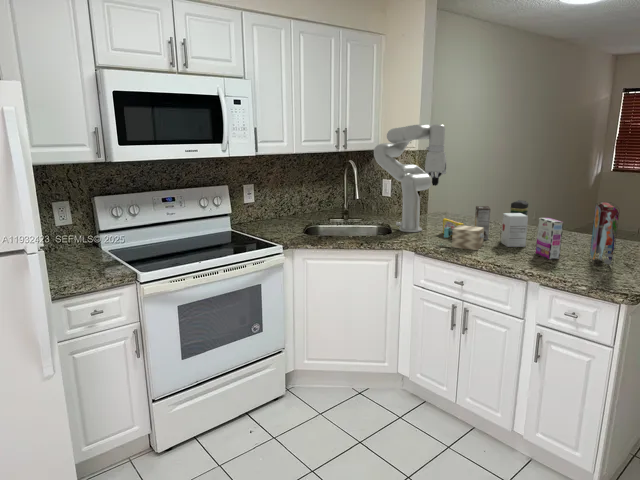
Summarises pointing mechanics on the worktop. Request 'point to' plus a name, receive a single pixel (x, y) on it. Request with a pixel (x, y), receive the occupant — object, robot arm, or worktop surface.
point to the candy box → (450, 224)
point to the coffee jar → (519, 207)
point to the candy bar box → (549, 238)
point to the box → (604, 232)
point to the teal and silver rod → (448, 232)
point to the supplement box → (514, 229)
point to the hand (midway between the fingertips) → (435, 185)
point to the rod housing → (467, 237)
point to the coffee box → (483, 219)
